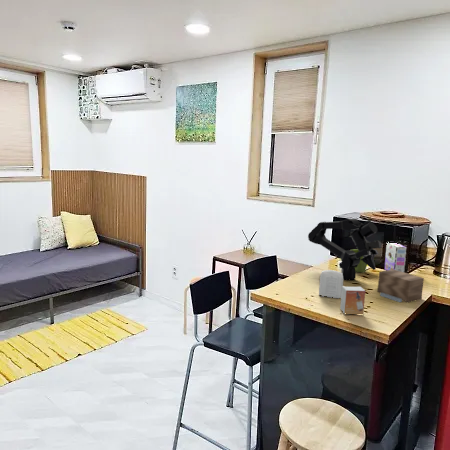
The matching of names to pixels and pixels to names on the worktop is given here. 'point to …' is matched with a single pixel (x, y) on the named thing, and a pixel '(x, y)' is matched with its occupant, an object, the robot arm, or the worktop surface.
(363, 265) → the plant pot
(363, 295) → the small box
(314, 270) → the worktop surface
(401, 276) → the walnut box
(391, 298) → the bay rails
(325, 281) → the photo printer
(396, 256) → the candy box
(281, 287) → the worktop surface
